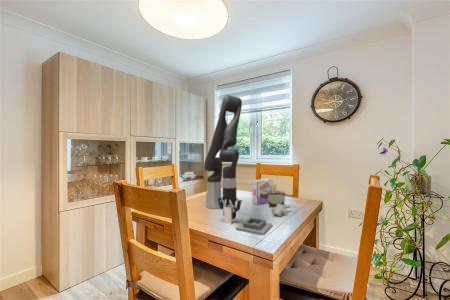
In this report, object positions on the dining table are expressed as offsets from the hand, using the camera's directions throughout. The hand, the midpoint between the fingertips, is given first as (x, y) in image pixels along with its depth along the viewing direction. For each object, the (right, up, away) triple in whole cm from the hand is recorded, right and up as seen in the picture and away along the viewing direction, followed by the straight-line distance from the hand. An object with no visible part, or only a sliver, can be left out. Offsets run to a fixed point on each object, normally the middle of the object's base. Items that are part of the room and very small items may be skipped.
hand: (229, 217), depth 117 cm
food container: (+32, -2, +28) cm, 42 cm away
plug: (0, -2, 0) cm, 2 cm away
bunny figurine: (+31, -2, +13) cm, 34 cm away
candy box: (+24, -1, +38) cm, 45 cm away
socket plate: (+12, -2, -9) cm, 15 cm away
